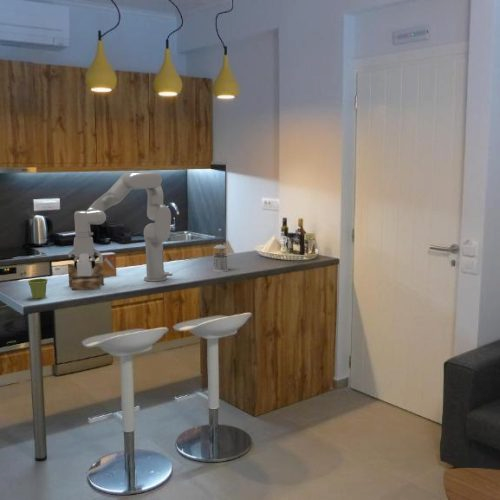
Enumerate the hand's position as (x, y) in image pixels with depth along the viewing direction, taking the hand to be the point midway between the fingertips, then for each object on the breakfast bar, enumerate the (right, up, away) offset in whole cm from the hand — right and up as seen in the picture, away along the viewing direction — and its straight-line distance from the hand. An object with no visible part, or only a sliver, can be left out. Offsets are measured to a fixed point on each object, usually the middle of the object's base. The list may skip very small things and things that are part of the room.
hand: (85, 268), depth 321 cm
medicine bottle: (0, -4, +1) cm, 4 cm away
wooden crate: (-1, -10, +7) cm, 13 cm away
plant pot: (-19, -14, -14) cm, 28 cm away
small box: (+4, -6, +37) cm, 37 cm away
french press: (+68, -3, +50) cm, 84 cm away
